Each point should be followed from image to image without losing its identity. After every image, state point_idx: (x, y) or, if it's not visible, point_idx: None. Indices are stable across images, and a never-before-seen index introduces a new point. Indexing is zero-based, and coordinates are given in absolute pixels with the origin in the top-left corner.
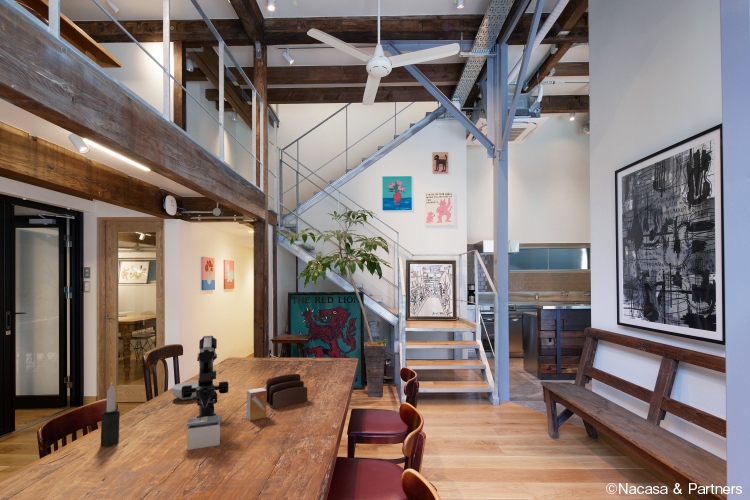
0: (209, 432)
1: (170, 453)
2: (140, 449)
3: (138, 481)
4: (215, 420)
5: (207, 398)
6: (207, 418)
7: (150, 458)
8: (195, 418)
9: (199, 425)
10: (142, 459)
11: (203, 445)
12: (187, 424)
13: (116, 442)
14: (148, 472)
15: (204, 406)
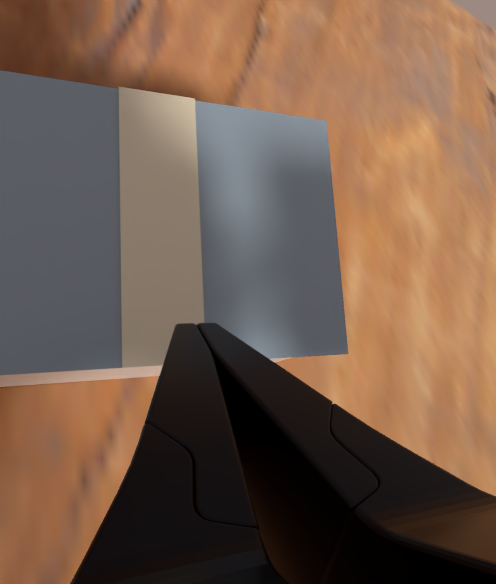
0: None
1: None
2: (490, 355)
3: (371, 11)
4: (7, 74)
5: (180, 427)
6: (121, 229)
7: (401, 209)
8: (275, 344)
9: None
10: (432, 214)
11: None
12: (319, 123)
13: None
14: (361, 64)
15: (205, 325)
